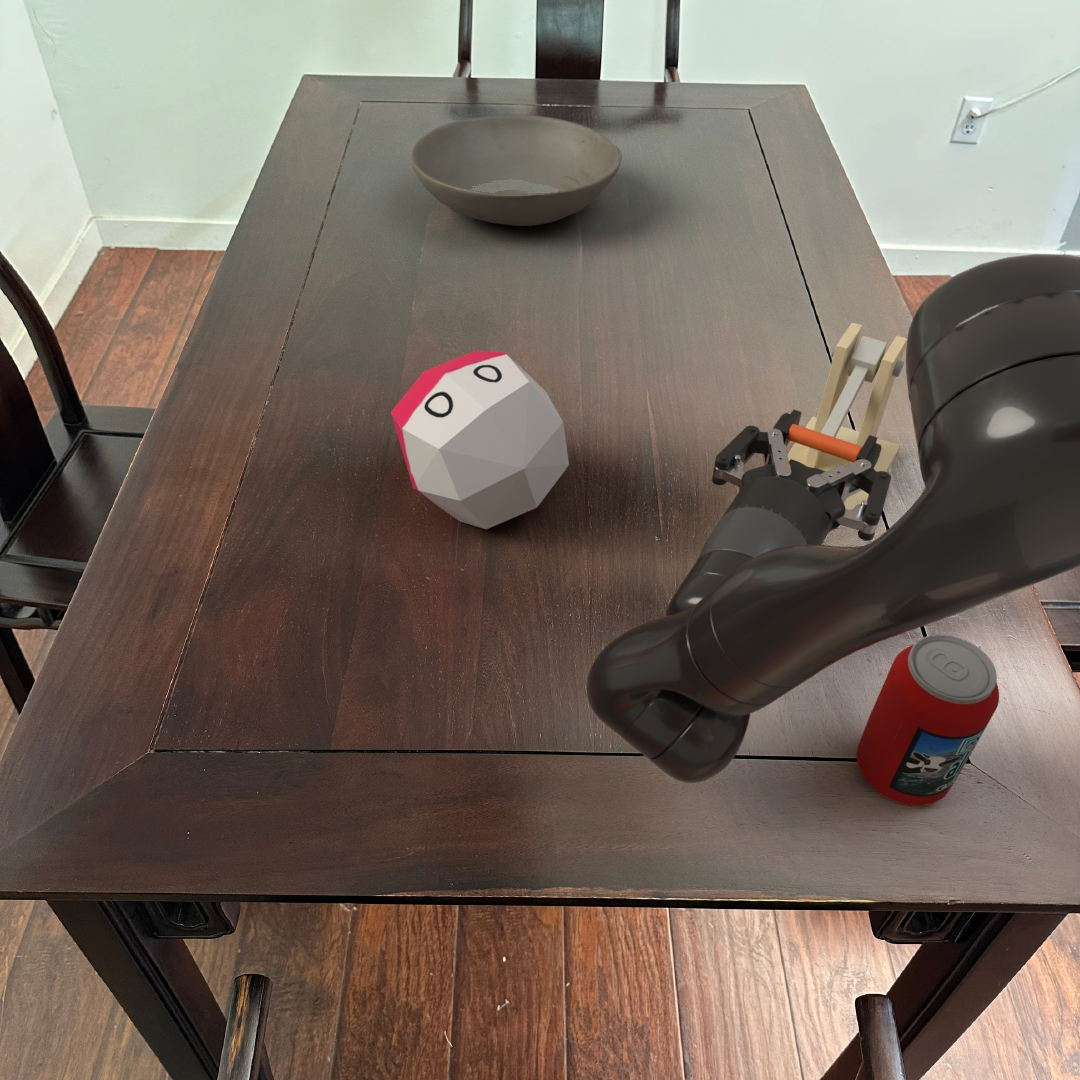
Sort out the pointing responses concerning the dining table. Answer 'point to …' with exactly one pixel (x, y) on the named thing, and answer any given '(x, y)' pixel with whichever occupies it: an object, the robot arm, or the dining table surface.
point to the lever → (844, 403)
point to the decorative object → (481, 438)
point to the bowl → (515, 166)
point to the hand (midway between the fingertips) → (832, 431)
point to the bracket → (873, 415)
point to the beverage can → (927, 719)
